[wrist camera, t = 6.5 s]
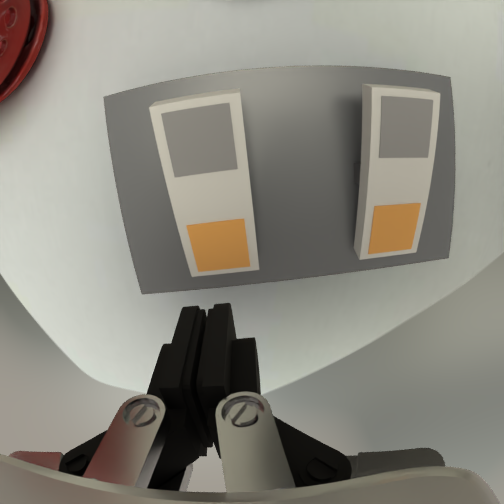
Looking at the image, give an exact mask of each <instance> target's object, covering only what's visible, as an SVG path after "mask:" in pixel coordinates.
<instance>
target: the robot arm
mask: <svg viewBox="0 0 504 504" xmlns="http://www.w3.org/2000/svg"><path fill="white" fill-rule="evenodd" d="M213 442H214V445H215V447H216V450H217V453H218V455H219V458H220V459H221V460H222V466H223V473H224V480H225V486H226V492H224V493H215V492H214V493H213V492H186V491H187V487H188V484H189V481H190V477H191V474H192V471H193V464H192V463H193V462H194V461H195V460H197V459H198V458H199V456H207V447H212V446H213ZM0 504H500V502H499V500H498V499H497V497H496V496H495V494H494V492H493V491H492V489H491V488H490V487H489V485H488V484H487V483H486V482H485V481H484V480H483V479H482V478H481V477H480V476H479V475H477V474H476V473H474V472H472V471H470V470H467V469H462V468H456V467H445V462H444V460H443V457H442V456H441V455H440V454H439V453H438V452H437V451H435V450H433V449H430V448H416V449H407V450H396V451H382V452H364V453H363V452H360V453H358V456H345V455H344V454H342V453H340V452H339V451H337V450H335V449H333V448H331V447H329V446H327V445H325V444H323V443H321V442H320V441H318V440H316V439H314V438H312V437H310V436H308V435H306V434H304V433H303V432H301V431H299V430H297V429H295V428H294V427H292V426H290V425H288V424H286V423H284V422H283V421H281V420H280V419H277V418H276V417H274V416H273V414H272V410H271V408H270V405H269V403H268V401H267V400H266V399H265V398H264V397H263V396H262V395H261V392H260V376H259V364H258V356H257V348H256V341H255V337H254V338H243V339H236V333H235V327H234V321H233V315H232V309H231V304H230V303H224V304H214V309H209V310H208V315H207V316H206V312H205V310H204V309H202V310H200V308H199V306H189V307H183V308H182V310H181V313H180V317H179V320H178V323H177V326H176V329H175V333H174V336H173V339H172V343H171V344H163V346H162V348H161V351H160V354H159V357H158V360H157V363H156V366H155V369H154V372H153V375H152V378H151V382H150V385H149V388H148V391H147V394H146V395H145V394H142V395H138V396H134V397H132V398H130V399H128V400H127V401H126V402H124V403H123V405H122V406H121V407H120V408H119V410H118V412H117V414H116V415H115V417H114V419H113V421H112V423H111V425H110V426H109V428H108V430H106V431H105V432H103V433H101V434H99V435H97V436H96V437H94V438H92V439H90V440H88V441H87V442H85V443H83V444H81V445H79V446H77V447H76V448H74V449H72V450H70V451H69V452H67V453H66V454H65V455H63V454H62V453H61V452H29V451H17V452H14V453H12V454H10V455H9V456H6V455H2V454H0Z"/></svg>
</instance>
